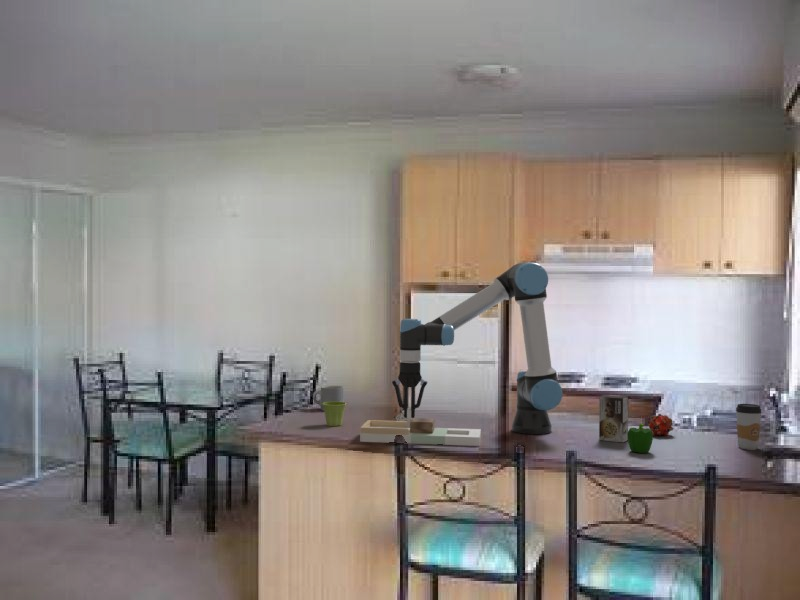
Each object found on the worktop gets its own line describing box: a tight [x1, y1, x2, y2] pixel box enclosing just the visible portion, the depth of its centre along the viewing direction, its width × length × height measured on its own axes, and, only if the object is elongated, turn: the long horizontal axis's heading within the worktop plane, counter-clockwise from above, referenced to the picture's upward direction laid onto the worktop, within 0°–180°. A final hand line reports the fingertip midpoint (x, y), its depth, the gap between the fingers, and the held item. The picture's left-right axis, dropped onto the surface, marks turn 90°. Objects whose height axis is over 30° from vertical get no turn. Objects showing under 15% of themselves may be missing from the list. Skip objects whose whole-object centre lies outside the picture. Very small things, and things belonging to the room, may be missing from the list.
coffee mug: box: [312, 385, 344, 412], centre depth 356 cm, size 13×10×10 cm
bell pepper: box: [627, 423, 654, 454], centre depth 270 cm, size 8×8×10 cm
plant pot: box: [322, 401, 347, 427], centre depth 315 cm, size 9×9×9 cm
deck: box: [359, 419, 482, 447], centre depth 288 cm, size 42×16×5 cm, turn 83°
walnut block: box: [410, 417, 435, 434], centre depth 288 cm, size 8×8×4 cm
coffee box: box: [598, 394, 629, 443], centre depth 291 cm, size 9×6×16 cm
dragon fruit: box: [647, 413, 674, 437], centre depth 302 cm, size 8×8×12 cm
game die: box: [393, 408, 407, 421], centre depth 306 cm, size 9×8×10 cm
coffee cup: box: [735, 403, 763, 451], centre depth 279 cm, size 8×8×15 cm
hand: (409, 426), depth 288 cm, fingers closed
